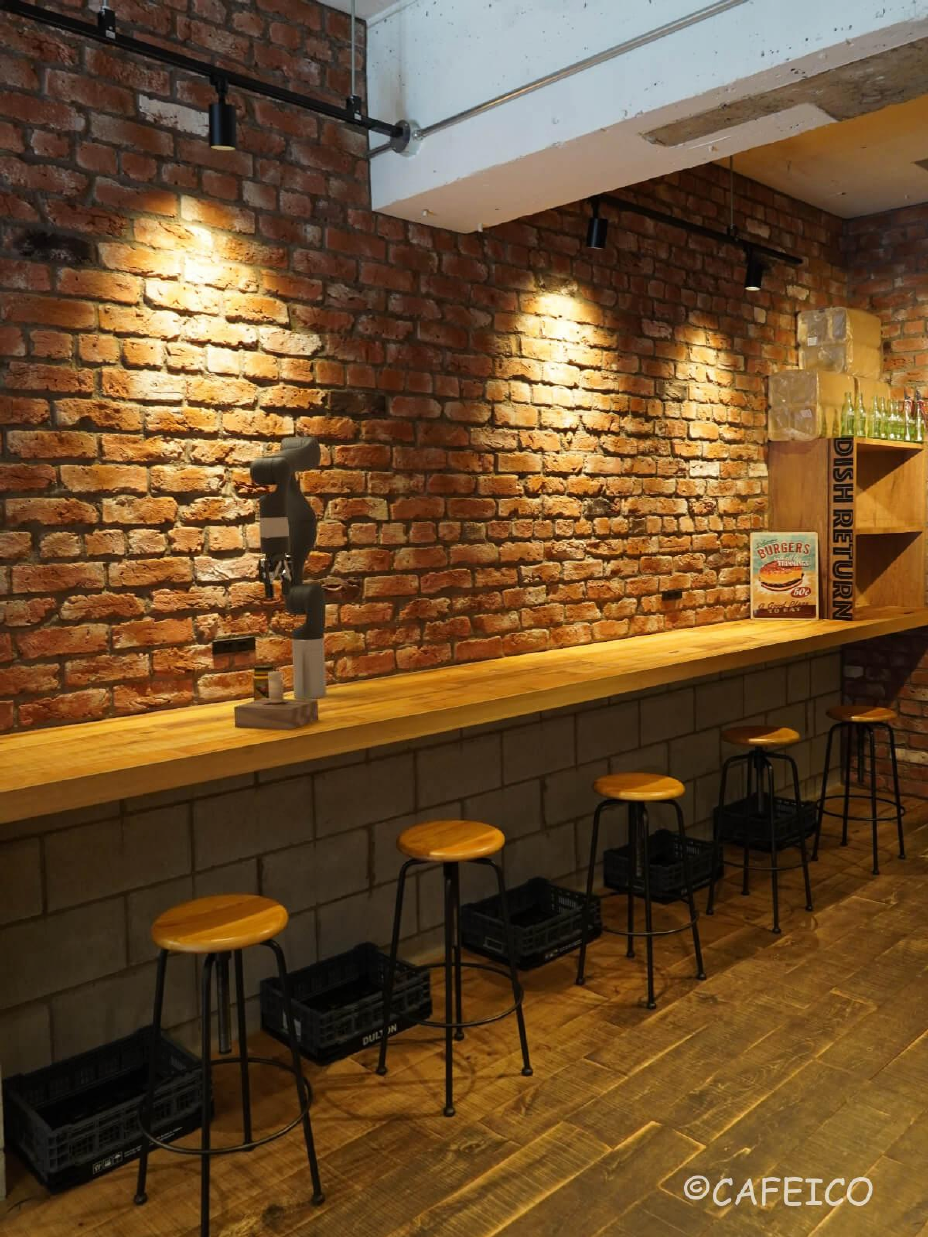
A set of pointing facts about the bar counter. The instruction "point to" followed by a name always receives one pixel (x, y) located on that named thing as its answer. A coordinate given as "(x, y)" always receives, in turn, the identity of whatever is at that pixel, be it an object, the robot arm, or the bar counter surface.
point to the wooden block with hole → (276, 714)
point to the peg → (275, 688)
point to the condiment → (261, 681)
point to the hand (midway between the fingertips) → (278, 596)
